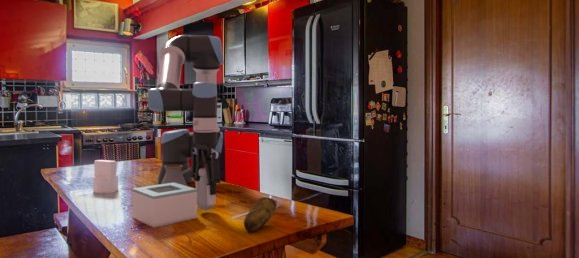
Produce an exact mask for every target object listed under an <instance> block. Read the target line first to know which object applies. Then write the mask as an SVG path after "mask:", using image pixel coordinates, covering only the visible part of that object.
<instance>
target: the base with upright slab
mask: <svg viewBox="0 0 579 258" xmlns="http://www.w3.org/2000/svg"><path fill="white" fill-rule="evenodd" d="M93 162H94V166H93V167H94V175H92V187H93V188H92V189H93V193H95V194H108V193H109V194H110V193H114V192H117V191H118V190H119V174H117V161H116V160H110V159H108V160H107V159H96V160H94V161H93Z"/></svg>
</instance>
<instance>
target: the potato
mask: <svg viewBox="0 0 579 258" xmlns="http://www.w3.org/2000/svg"><path fill="white" fill-rule="evenodd" d="M276 205H278V204H277V203H276V200H274V198H271V197H266V196H265V197H261V198H259V199H257V201H256V202H255V203H254V204H253V206H252V207H251V209H250V210H249V211H248V212H249V213H248V214H247V215H245V216H244V217H245V218H244V220H243V226H244V229H245V230H246V231H247V232H249V233H253V232H256V231H258V230H259V229H260V228H262V227H264V225H266V224H267V223H268V222H269V221H270V219H271V218H272V217H273V216H275V213H276V212H277V208H276V207H277V206H276Z"/></svg>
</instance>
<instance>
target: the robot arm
mask: <svg viewBox="0 0 579 258" xmlns="http://www.w3.org/2000/svg"><path fill="white" fill-rule="evenodd" d="M222 47H223V46H222V40H221V38H220V37H219V36H214V35H195V34H193V35H192V34H181V35H178V36H174V37H172V38H171V39H169V40H168V41H166V43H165V44H164V45H163V46H162V47H161V50H160V53H159V54H160V55H159V58H160V59H159V60H160V68H159V72H158V79H157V83H156V87H154V88H149V89H148V92H147V105H148V109H149V110H150V111H153V112H154V111H155V112H157V111H158V112H192V114H193V115H192V130H193V131H191V132H190V130H189V129H187V128H185V129H184V128H183V129H175V130H169V131H164V132H163V133H162V134H161V139H160V140H161V142H160V144H161V166H160V169H159V173H158V176H157V184H158V185H160V184H161V183H162V181H163V179H164V176H165V174H166V169H165V168H164V166H166V165H182V166H183V167H182V168H181V172H183V171H185V170H187V169H189V168H191V170H190V171H188V172H186V173H184V174H183V177H184V179H185V182H186V184H187V185H188V184H190V183H193V181H195V182H194V183H195V189H197V194H198V188H199V182H200V176H199V169H201V168H206V172H207V178H208V184H207V205H208V206H209V205H216V193H217V186H216V185H218V184H220V183H221V162H220V161H221V154H222V149H223V141H224V140H223V139H224V133H223V132H222V131H221V128H220V127H219V126H218V88H217V87H218V83H217V82H218V81H217V79H218V78H217V75H218V72H219V71H220V70H221V66H222V65H224V63H225V62H224V53H223V48H222ZM184 64H190V65H191V66H192V67H191V68H192V70H194V71H195V73H196V74H195V79H196V80H195V82H194V83H193V84H192V88H180V84H181V76H182V68H183V67H182V66H183V65H184ZM190 159H191V166H190V162H189V161H190Z"/></svg>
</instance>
